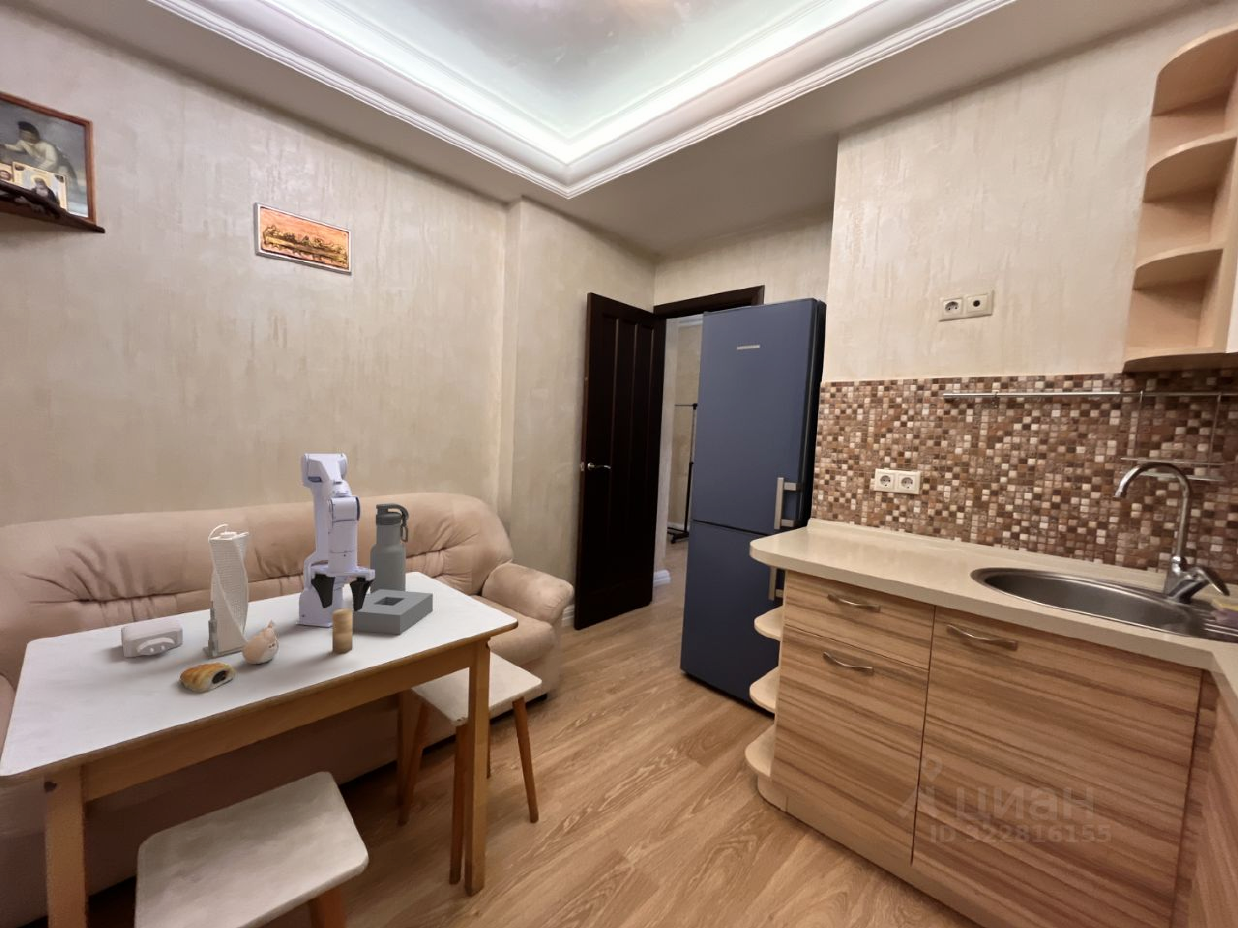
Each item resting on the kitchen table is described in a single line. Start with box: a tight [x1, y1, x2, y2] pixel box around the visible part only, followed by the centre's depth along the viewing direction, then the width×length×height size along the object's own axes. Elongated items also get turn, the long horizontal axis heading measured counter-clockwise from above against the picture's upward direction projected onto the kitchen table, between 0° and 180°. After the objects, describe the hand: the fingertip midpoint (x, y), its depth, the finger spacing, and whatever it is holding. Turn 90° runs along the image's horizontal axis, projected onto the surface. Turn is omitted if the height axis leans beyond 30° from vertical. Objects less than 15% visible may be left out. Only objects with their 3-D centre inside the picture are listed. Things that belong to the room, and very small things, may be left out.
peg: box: [331, 609, 354, 655], centre depth 108 cm, size 4×4×9 cm
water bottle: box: [369, 503, 410, 595], centre depth 143 cm, size 10×10×28 cm
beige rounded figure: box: [241, 619, 280, 665], centre depth 102 cm, size 7×6×8 cm
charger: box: [120, 615, 184, 659], centre depth 105 cm, size 5×9×15 cm
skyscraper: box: [202, 523, 250, 661], centre depth 106 cm, size 8×8×28 cm
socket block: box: [343, 589, 434, 636], centre depth 126 cm, size 16×16×5 cm
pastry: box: [179, 661, 236, 693], centre depth 93 cm, size 9×7×4 cm
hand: (342, 608), depth 108 cm, fingers open, 7 cm apart
